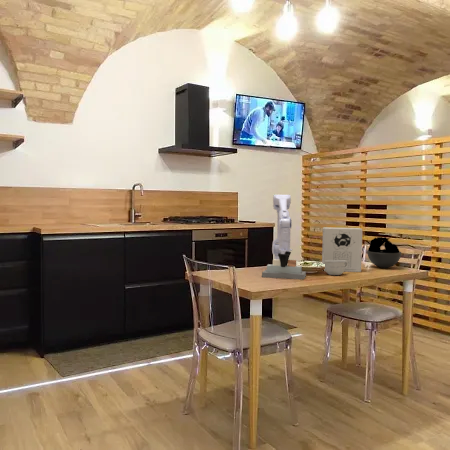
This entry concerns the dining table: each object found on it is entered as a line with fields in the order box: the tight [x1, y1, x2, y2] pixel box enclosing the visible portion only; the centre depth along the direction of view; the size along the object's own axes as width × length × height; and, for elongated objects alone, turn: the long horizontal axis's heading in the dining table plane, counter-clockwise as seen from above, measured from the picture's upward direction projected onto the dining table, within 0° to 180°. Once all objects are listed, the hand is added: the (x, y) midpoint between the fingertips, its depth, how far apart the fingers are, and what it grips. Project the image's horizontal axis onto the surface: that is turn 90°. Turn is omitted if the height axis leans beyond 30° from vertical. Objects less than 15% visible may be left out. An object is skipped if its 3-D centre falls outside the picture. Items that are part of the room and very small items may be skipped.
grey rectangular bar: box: [266, 263, 303, 274], centre depth 250 cm, size 18×5×3 cm, turn 75°
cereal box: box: [321, 226, 363, 273], centre depth 274 cm, size 22×8×25 cm, turn 84°
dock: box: [261, 269, 307, 280], centre depth 250 cm, size 11×22×2 cm, turn 75°
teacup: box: [324, 260, 348, 276], centre depth 260 cm, size 14×11×8 cm
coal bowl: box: [366, 236, 402, 269], centre depth 288 cm, size 20×20×19 cm
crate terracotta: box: [287, 259, 297, 267], centre depth 249 cm, size 4×4×3 cm
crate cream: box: [272, 258, 281, 266], centre depth 251 cm, size 4×4×3 cm
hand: (284, 266), depth 250 cm, fingers open, 7 cm apart
